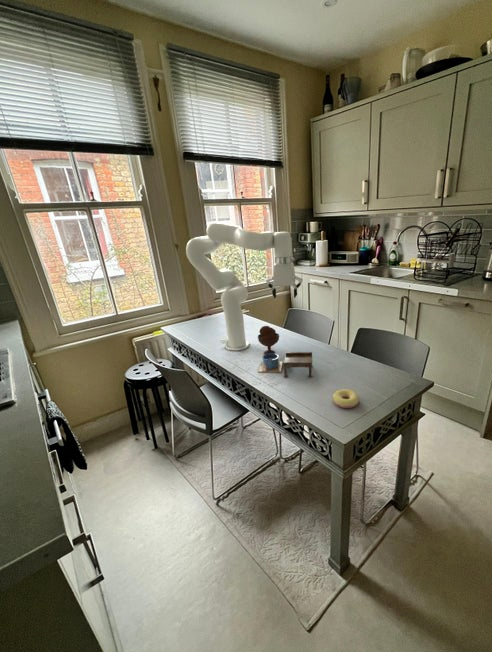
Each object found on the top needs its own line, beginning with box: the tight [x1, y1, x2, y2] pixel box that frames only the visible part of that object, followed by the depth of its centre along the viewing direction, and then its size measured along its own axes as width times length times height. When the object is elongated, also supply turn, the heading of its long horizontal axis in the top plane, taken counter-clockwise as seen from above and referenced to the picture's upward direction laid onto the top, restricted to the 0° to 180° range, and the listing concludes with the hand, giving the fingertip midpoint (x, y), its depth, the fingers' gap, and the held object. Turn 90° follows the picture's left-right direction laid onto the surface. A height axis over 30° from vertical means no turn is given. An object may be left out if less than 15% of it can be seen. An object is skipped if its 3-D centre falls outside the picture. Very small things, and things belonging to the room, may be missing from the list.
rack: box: [282, 351, 313, 379], centre depth 140 cm, size 12×11×7 cm
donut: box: [332, 388, 360, 409], centre depth 117 cm, size 10×5×9 cm
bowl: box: [261, 353, 280, 370], centre depth 145 cm, size 7×7×5 cm
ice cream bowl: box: [257, 325, 280, 355], centre depth 158 cm, size 11×11×15 cm
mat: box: [258, 361, 284, 374], centre depth 147 cm, size 10×10×1 cm
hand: (285, 297), depth 151 cm, fingers open, 9 cm apart
